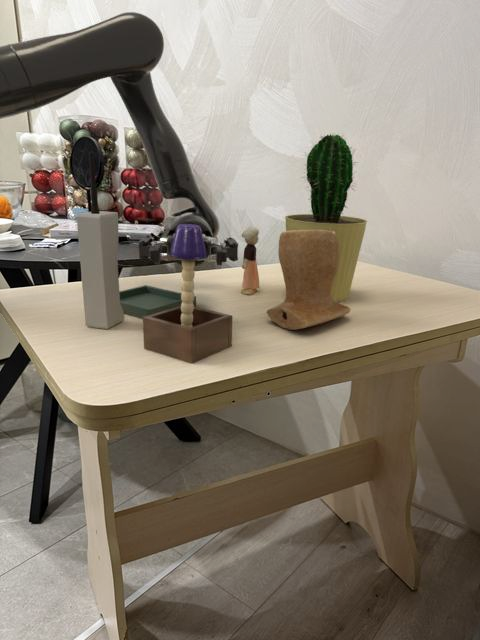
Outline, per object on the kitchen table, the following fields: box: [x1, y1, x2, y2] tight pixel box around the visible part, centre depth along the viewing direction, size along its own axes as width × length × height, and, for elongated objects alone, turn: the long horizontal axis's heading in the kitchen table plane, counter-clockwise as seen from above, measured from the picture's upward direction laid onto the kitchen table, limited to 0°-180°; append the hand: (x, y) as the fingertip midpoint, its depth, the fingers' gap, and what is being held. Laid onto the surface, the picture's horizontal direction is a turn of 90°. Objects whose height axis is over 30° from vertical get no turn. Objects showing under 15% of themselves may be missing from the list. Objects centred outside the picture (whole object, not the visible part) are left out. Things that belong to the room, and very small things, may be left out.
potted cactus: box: [284, 132, 368, 303], centre depth 98 cm, size 15×15×30 cm
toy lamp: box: [170, 224, 206, 327], centre depth 69 cm, size 5×5×17 cm
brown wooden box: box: [142, 306, 233, 364], centre depth 72 cm, size 9×9×4 cm
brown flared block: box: [266, 230, 352, 331], centre depth 84 cm, size 15×12×15 cm
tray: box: [119, 284, 197, 319], centre depth 90 cm, size 12×11×2 cm
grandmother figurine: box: [240, 226, 260, 296], centre depth 101 cm, size 8×4×13 cm, turn 179°
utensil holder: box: [76, 151, 125, 330], centre depth 76 cm, size 4×5×25 cm
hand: (188, 257), depth 71 cm, fingers open, 8 cm apart
